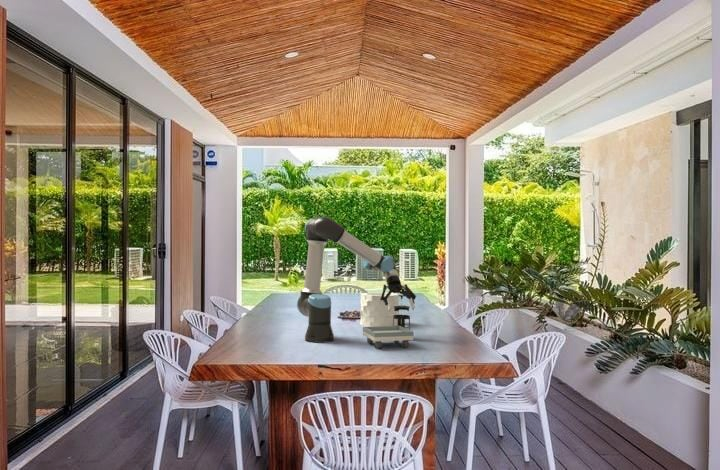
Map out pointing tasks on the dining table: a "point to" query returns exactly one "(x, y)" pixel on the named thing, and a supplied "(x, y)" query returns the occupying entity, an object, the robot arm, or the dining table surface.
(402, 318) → the french press
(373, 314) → the basket
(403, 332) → the grey tray with legs
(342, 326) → the dining table surface
